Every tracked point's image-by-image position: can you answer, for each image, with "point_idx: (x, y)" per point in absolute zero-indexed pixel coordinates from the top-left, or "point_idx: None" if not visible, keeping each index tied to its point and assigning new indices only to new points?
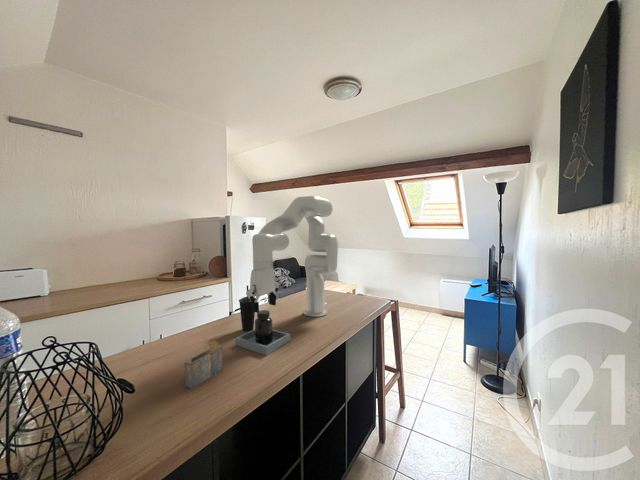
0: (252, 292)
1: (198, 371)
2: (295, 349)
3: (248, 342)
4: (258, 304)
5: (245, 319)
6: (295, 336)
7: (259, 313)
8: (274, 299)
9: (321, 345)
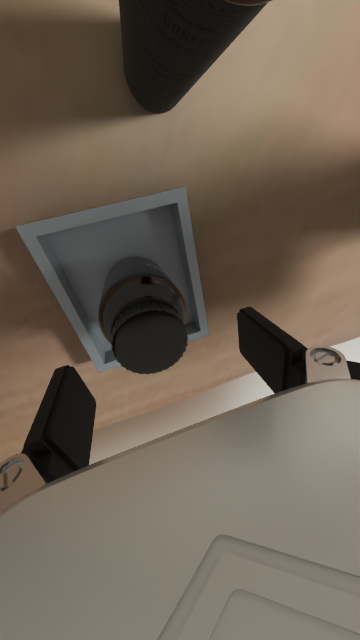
0: (25, 526)
1: None
2: (177, 365)
3: (61, 305)
4: (85, 458)
5: (135, 52)
6: (231, 305)
7: (117, 356)
8: (263, 379)
9: (228, 377)
